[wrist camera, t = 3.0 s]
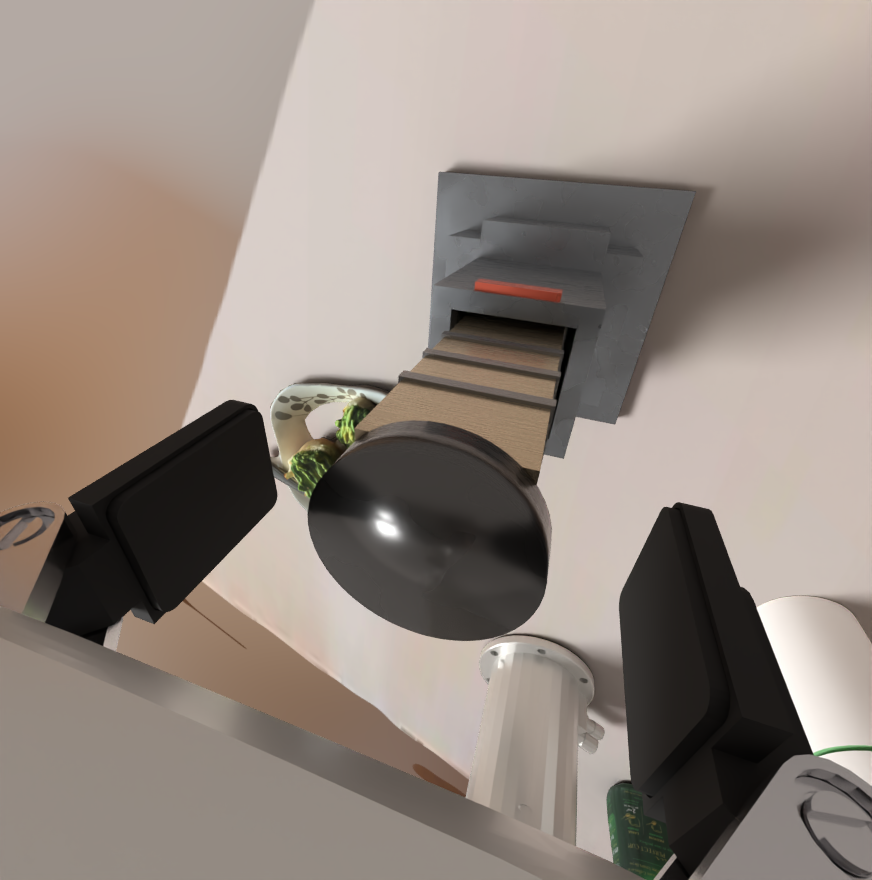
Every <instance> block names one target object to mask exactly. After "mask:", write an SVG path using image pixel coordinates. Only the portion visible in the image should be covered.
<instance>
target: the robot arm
mask: <svg viewBox="0 0 872 880" xmlns="http://www.w3.org/2000/svg"><path fill="white" fill-rule="evenodd" d="M68 499H69V501H70V502H71V504H72V506H73V508H74V510H75V511H74V512H73V513H71V514H70V515H68V516H67V514H66V513H65V511H64V509H63V508H62V506H60V505H58V504H56V503H52V502H34V503H28V504H23V505H20V506H15V507H12V508H10V509H7V510H4V511H2V512H0V880H645V879H643V878H641V877H640V876H638V875H636V874H634V873H632V872H630V871H628V870H626V869H624V868H622V867H620V866H618V865H616V864H614V863H612V862H610V861H608V860H605V859H603V858H601V857H599V856H596V855H594V854H592V853H590V852H587V851H585V850H583V849H581V848H578V847H576V818H577V769H578V746H579V747H580V748H582V749H583V750H585V751H586V752H588V753H589V754H594V753H595V752H596V750H597V748H598V743H599V742H598V740H601V739H602V738H603V736H604V733H605V731H604V728H603V727H602V726H601V725H599V724H598V723H596V722H595V721H593V720H591V719H589V718H588V715H587V706H588V704H589V703H590V702H591V701H592V699H593V697H594V678H593V675H592V673H591V671H590V670H589V668H588V667H587V666H586V664H585V663H584V662H583V661H582V660H581V659H580V658H579V657H577V656H576V655H575V654H573V653H572V652H570V651H569V650H568V649H566V648H564V647H562V646H560V645H558V644H555V643H553V642H550V641H548V640H544V639H540V638H536V637H531V636H519V635H513V636H505V637H501V638H498V639H495V640H493V641H491V642H490V643H488V644H487V645H486V646H485V647H484V648H483V650H482V652H481V656H480V661H479V669H480V672H481V675H482V677H483V679H484V680H485V682H486V683H487V684H488V690H487V695H486V700H485V705H484V710H483V715H482V720H481V725H480V730H479V735H478V739H477V744H476V749H475V754H474V759H473V764H472V769H471V774H470V779H469V784H468V789H467V794H466V798H465V797H462V796H460V795H458V794H455V793H453V792H450V791H448V790H446V789H443V788H441V787H439V786H436V785H434V784H432V783H429V782H427V781H424V780H422V779H420V778H417V777H415V776H413V775H410V774H408V773H406V772H403V771H401V770H399V769H396V768H393V767H391V766H389V765H387V764H384V763H382V762H380V761H377V760H375V759H373V758H370V757H368V756H365V755H363V754H361V753H358V752H356V751H354V750H351V749H349V748H346V747H344V746H342V745H340V744H337V743H335V742H332V741H330V740H327V739H325V738H323V737H320V736H318V735H316V734H313V733H311V732H308V731H306V730H304V729H301V728H299V727H297V726H294V725H292V724H289V723H287V722H285V721H282V720H280V719H277V718H275V717H273V716H270V715H268V714H265V713H263V712H261V711H258V710H256V709H253V708H251V707H249V706H246V705H244V704H242V703H239V702H237V701H234V700H232V699H229V698H227V697H225V696H222V695H220V694H218V693H215V692H213V691H210V690H208V689H205V688H203V687H201V686H198V685H196V684H193V683H191V682H188V681H186V680H184V679H182V678H179V677H177V676H174V675H172V674H169V673H167V672H164V671H162V670H160V669H157V668H155V667H152V666H150V665H147V664H145V663H142V662H140V661H138V660H135V659H133V658H130V657H128V656H125V655H123V654H121V653H118V652H116V648H117V644H118V640H119V635H120V631H121V626H122V622H123V616H124V615H125V614H126V613H127V612H128V611H130V610H131V611H132V613H133V614H134V616H135V617H137V618H140V619H142V620H145V621H147V622H150V623H153V624H155V623H156V622H157V621H158V620H159V619H160V618H161V617H162V616H163V615H164V614H165V613H166V612H168V611H171V610H173V609H175V608H176V607H177V606H178V605H179V604H180V603H181V602H182V601H183V600H184V599H185V598H186V597H187V596H188V595H189V593H191V591H192V590H193V589H194V588H195V587H196V586H197V585H198V584H199V583H200V582H201V581H202V580H203V579H204V578H205V577H206V576H207V575H208V574H209V573H210V572H211V571H212V570H213V569H214V568H215V567H216V566H217V565H218V564H219V563H220V562H221V561H222V559H223V558H224V557H225V556H226V555H227V554H228V553H229V552H230V551H231V550H232V549H233V548H234V547H235V546H236V545H237V544H238V543H239V542H240V541H241V540H242V539H243V538H244V537H245V536H246V535H247V534H248V533H249V532H250V531H251V529H252V528H253V527H254V526H255V525H256V524H257V523H258V522H259V521H260V520H261V519H262V518H263V517H264V516H265V515H266V514H267V513H268V512H269V511H270V510H271V509H272V508H273V506H274V505H275V503H276V500H277V489H276V484H275V479H274V474H273V469H272V464H271V458H270V453H269V448H268V443H267V438H266V433H265V428H264V422H263V418H262V415H261V413H260V412H258V410H257V408H256V407H255V406H254V405H252V404H249V403H244V402H240V401H236V400H229V401H226V402H224V403H223V404H221V405H219V406H218V407H216V408H215V409H213V410H211V411H210V412H208V413H206V414H205V415H203V416H201V417H200V418H198V419H197V420H195V421H193V422H192V423H190V424H188V425H187V426H185V427H183V428H182V429H180V430H178V431H177V432H176V433H174V434H172V435H170V436H169V437H167V438H165V439H164V440H162V441H161V442H159V443H157V444H156V445H154V446H152V447H151V448H149V449H147V450H146V451H144V452H142V453H141V454H139V455H138V456H136V457H134V458H133V459H131V460H129V461H128V462H126V463H124V464H123V465H121V466H119V467H118V468H116V469H115V470H113V471H111V472H110V473H108V474H106V475H105V476H103V477H102V478H100V479H98V480H96V481H95V482H93V483H92V484H90V485H88V486H87V487H85V488H83V489H82V490H80V491H78V492H77V493H75V494H74V495H72V496H70V497H69V498H68ZM619 614H620V629H621V643H622V658H623V673H624V687H625V702H626V717H627V731H628V746H629V760H630V775H631V782H632V786H633V788H634V789H635V790H636V791H639V792H641V793H642V799H643V811H644V815H646V816H648V817H651V818H653V819H656V820H658V821H661V822H664V823H666V826H667V834H668V843H669V847H670V848H671V850H672V851H673V853H674V854H673V855H672V857H671V858H670V859H669V860H668V862H667V863H666V864H665V865H664V867H663V868H662V869H661V871H660V872H659V873H658V874H657V876H656V877H655V878H654V879H653V880H872V786H871V785H870V784H868V783H867V782H865V781H864V780H863V779H861V778H860V777H859V776H857V775H856V774H855V773H853V772H852V771H851V770H849V769H847V768H845V767H843V766H841V765H839V764H837V763H835V762H833V761H831V760H829V759H826V758H822V757H818V756H814V754H813V752H812V749H811V746H810V744H809V741H808V739H807V736H806V734H805V731H804V728H803V726H802V723H801V721H800V718H799V716H798V713H797V710H796V708H795V705H794V703H793V700H792V698H791V695H790V693H789V690H788V687H787V685H786V682H785V680H784V677H783V675H782V672H781V669H780V667H779V664H778V662H777V659H776V657H775V654H774V651H773V649H772V646H771V644H770V641H769V639H768V636H767V633H766V631H765V628H764V626H763V623H762V621H761V618H760V615H759V613H758V610H757V608H756V605H755V603H754V600H753V598H752V597H751V595H750V593H749V592H748V591H747V590H746V589H745V588H743V587H740V585H739V583H738V580H737V577H736V575H735V572H734V569H733V566H732V564H731V561H730V558H729V556H728V553H727V550H726V547H725V545H724V542H723V539H722V537H721V534H720V531H719V528H718V526H717V523H716V520H715V518H714V515H713V513H712V511H711V510H709V509H706V508H702V507H697V506H693V505H688V504H684V503H680V502H678V503H676V504H675V505H674V506H673V507H672V508H669V507H664V508H663V509H662V510H661V512H660V514H659V516H658V518H657V520H656V522H655V524H654V526H653V528H652V530H651V532H650V534H649V536H648V538H647V540H646V543H645V545H644V547H643V549H642V551H641V553H640V555H639V557H638V559H637V561H636V563H635V565H634V567H633V569H632V571H631V573H630V575H629V577H628V579H627V581H626V584H625V586H624V588H623V590H622V592H621V596H620V601H619Z"/></svg>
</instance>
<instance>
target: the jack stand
mask: <svg viewBox="0 0 872 880" xmlns="http://www.w3.org/2000/svg"><path fill="white" fill-rule="evenodd" d="M695 193H696V191H683V190H670V189H657V188H644V187H631V186H618V185H605V184H592V183H579V182H566V181H553V180H540V179H527V178H514V177H501V176H488V175H475V174H462V173H449V172H439V175H438V192H437V209H436V225H435V242H434V259H433V276H432V292H431V309H430V326H429V343H428V348H429V349H433V348H434V347H435V346H436V345H437V344H438V343H439V342H440V341H441V335H442V333H443V332H444V331H451V330H452V329H453V328H454V327H455V326H456V325H457V324H458V322H459V321H460V320H461V319H462V318H463V317H464V316H465V315H466V314H467V313H468V312H473V313H480V314H486V315H493V316H499V317H506V318H512V319H519V320H525V321H532V322H538V323H545V324H551V325H558V326H565V327H567V331H566V335H565V339H564V343H563V347H562V350H564V356H563V360H562V364H561V368H560V372H561V376H560V380H559V384H558V388H557V392H556V396H555V400H557V401H556V407H555V411H554V415H553V419H552V423H551V427H550V431H549V435H548V439H547V443H546V447H545V451H544V454H545V455H550V456H554V457H559V458H563V459H564V456H565V452H566V449H567V445H568V442H569V438H570V435H571V431H572V428H573V424H574V421H575V417H580V418H585V419H590V420H595V421H600V422H605V423H610V424H615V423H616V420H617V418H618V415H619V412H620V409H621V406H622V403H623V400H624V397H625V394H626V392H627V389H628V386H629V383H630V380H631V377H632V374H633V371H634V369H635V366H636V363H637V360H638V357H639V354H640V351H641V348H642V345H643V343H644V340H645V337H646V334H647V331H648V328H649V325H650V322H651V320H652V317H653V314H654V311H655V308H656V305H657V302H658V299H659V296H660V294H661V291H662V288H663V285H664V282H665V279H666V276H667V273H668V271H669V268H670V265H671V262H672V259H673V256H674V253H675V250H676V247H677V245H678V242H679V239H680V236H681V233H682V230H683V227H684V224H685V222H686V219H687V216H688V213H689V210H690V207H691V204H692V201H693V198H694V196H695Z"/></svg>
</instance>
